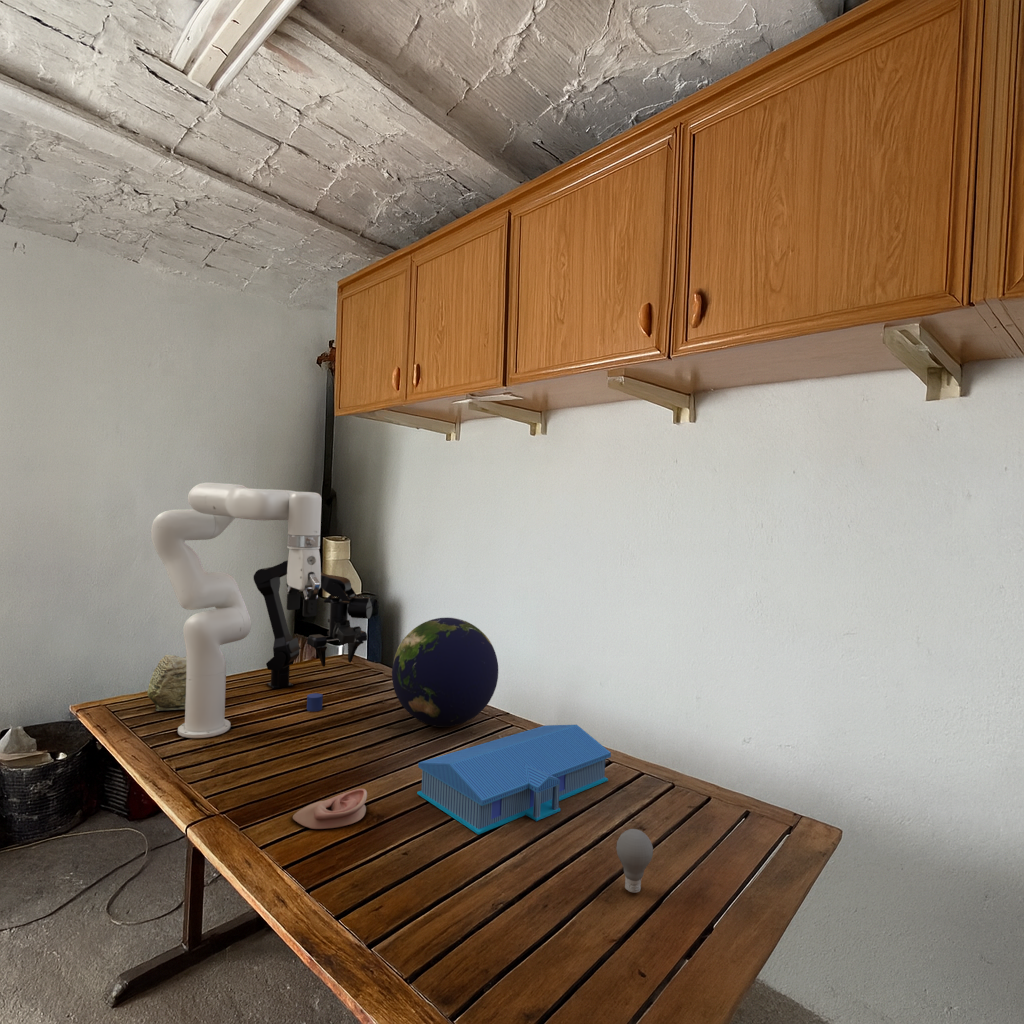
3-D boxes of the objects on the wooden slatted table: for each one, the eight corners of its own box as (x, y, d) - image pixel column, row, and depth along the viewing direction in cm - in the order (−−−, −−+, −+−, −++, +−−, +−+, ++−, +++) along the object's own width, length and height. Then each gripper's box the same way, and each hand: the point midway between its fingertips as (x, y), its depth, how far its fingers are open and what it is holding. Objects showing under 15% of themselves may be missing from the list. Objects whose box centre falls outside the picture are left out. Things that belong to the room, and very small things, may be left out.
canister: (324, 710, 187) (325, 696, 187) (309, 712, 184) (310, 698, 184) (318, 705, 191) (319, 692, 191) (304, 708, 188) (305, 694, 188)
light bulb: (610, 879, 108) (613, 822, 108) (644, 879, 109) (647, 822, 109) (619, 902, 102) (622, 840, 102) (655, 901, 103) (658, 840, 103)
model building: (489, 841, 119) (491, 789, 119) (416, 793, 137) (417, 747, 137) (619, 785, 145) (621, 742, 145) (543, 750, 163) (545, 712, 163)
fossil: (144, 707, 182) (145, 655, 182) (212, 696, 194) (213, 647, 194) (151, 716, 175) (153, 662, 175) (221, 703, 188) (223, 653, 188)
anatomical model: (284, 804, 122) (315, 778, 133) (284, 824, 122) (314, 797, 133) (348, 814, 119) (374, 787, 130) (348, 835, 119) (373, 806, 130)
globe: (368, 731, 171) (372, 620, 171) (424, 700, 199) (427, 605, 198) (467, 752, 160) (472, 634, 160) (512, 716, 188) (516, 616, 187)
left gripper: (334, 545, 150) (331, 617, 150) (304, 539, 163) (301, 606, 163) (303, 545, 145) (300, 620, 145) (275, 540, 158) (272, 608, 158)
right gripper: (323, 623, 194) (321, 674, 194) (376, 618, 206) (374, 665, 207) (307, 617, 202) (305, 666, 202) (359, 612, 215) (358, 658, 215)
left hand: (301, 612), depth 154 cm, fingers open, 9 cm apart
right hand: (336, 664), depth 206 cm, fingers open, 9 cm apart
